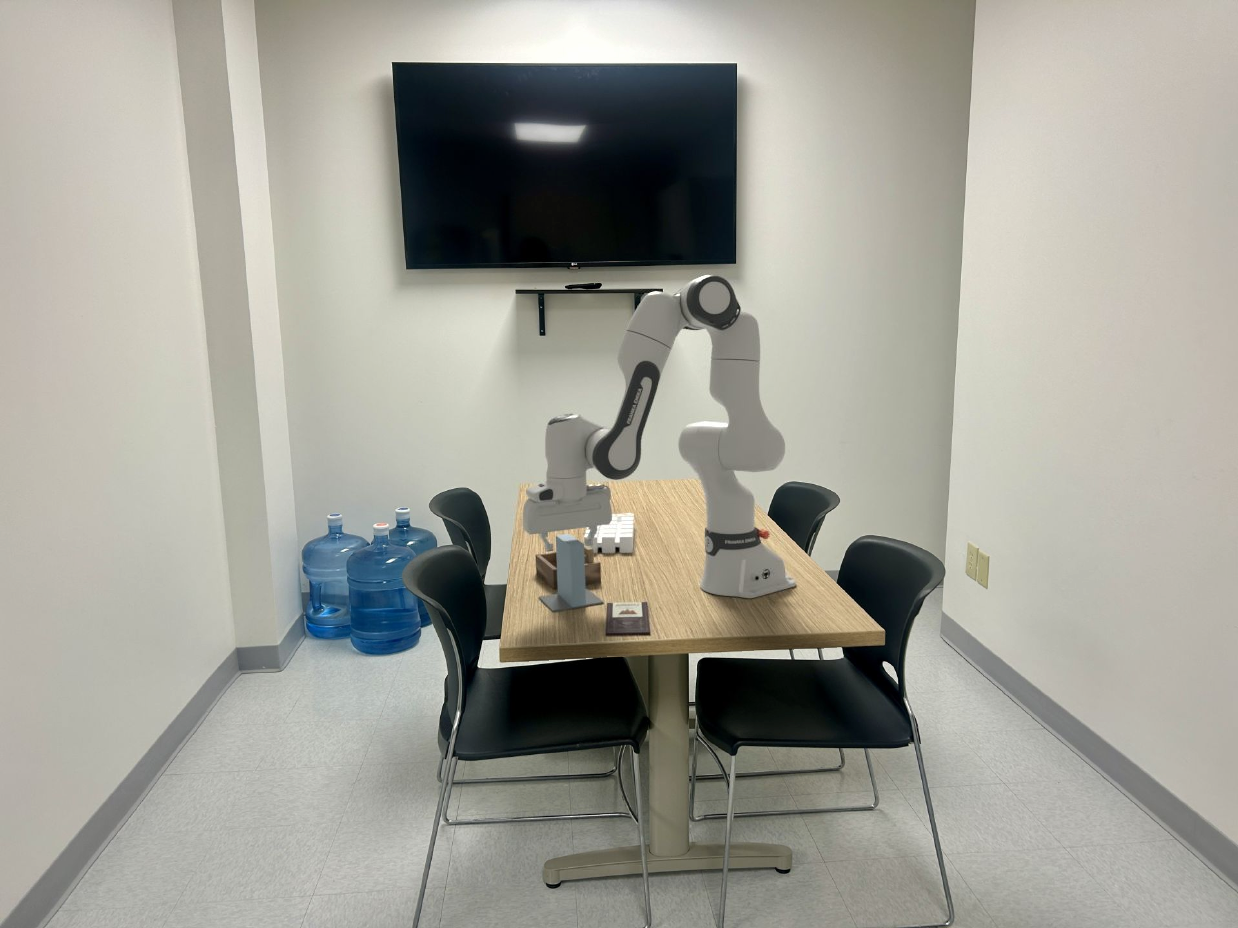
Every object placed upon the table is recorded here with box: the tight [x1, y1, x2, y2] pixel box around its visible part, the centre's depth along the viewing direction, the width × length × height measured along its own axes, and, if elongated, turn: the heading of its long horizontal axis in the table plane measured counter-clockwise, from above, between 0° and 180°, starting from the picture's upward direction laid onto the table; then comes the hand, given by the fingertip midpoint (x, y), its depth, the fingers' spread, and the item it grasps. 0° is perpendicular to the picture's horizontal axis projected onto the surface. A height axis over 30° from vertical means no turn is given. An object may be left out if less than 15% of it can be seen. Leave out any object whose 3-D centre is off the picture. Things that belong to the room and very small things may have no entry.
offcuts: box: [579, 540, 595, 564], centre depth 203 cm, size 4×10×6 cm, turn 23°
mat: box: [538, 588, 605, 613], centre depth 186 cm, size 12×10×1 cm
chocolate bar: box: [605, 601, 651, 637], centre depth 174 cm, size 9×1×18 cm
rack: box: [535, 551, 602, 591], centre depth 202 cm, size 12×14×5 cm
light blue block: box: [555, 533, 587, 607], centre depth 185 cm, size 3×10×14 cm, turn 23°
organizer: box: [583, 512, 635, 554], centre depth 241 cm, size 13×5×35 cm
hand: (569, 548), depth 184 cm, fingers open, 8 cm apart
